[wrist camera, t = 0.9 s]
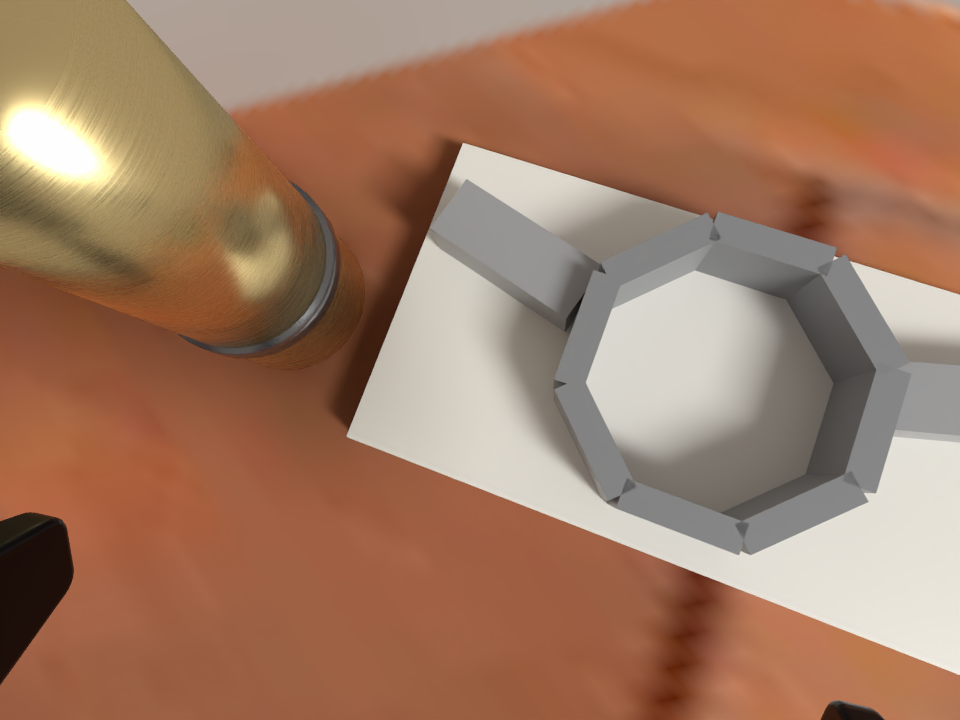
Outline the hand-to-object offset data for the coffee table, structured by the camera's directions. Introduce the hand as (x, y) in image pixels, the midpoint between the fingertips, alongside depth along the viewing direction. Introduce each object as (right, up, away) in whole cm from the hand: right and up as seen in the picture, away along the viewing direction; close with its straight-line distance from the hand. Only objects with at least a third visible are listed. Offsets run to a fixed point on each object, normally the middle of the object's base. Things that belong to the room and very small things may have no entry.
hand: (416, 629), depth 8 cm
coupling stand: (+7, +2, +13) cm, 15 cm away
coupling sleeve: (-6, +5, +15) cm, 17 cm away
